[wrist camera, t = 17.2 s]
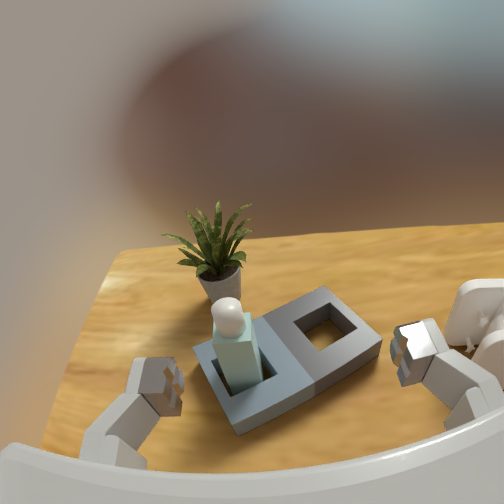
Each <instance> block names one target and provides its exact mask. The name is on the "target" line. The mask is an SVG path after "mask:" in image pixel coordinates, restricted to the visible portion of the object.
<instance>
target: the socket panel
mask: <svg viewBox="0 0 504 504" xmlns="http://www.w3.org/2000/svg"><path fill="white" fill-rule="evenodd" d="M328 319H330V320H331V321H332V322H333V323H334V324H335V325H336V326H337V327H338V328H339V329H340V330H341V331H342V332H343V333H344V334H345V335H346V336H345V337H343V338H341V339H340V340H338V341H336V342H335V343H333V344H331V345H330V346H328V347H326V348H324V349H323V350H321V351H318V350H317V348H316V347H315V346H314V345H313V344H312V343H311V342H310V341H309V339H308V338H307V337H306V336H305V335H304V334H303V333H304V332H306V331H308V330H310V329H312V328H314V327H315V326H317V325H319V324H321V323H323V322H325V321H326V320H328ZM252 322H253V326H254V330H255V335H256V339H257V344H258V348H259V352H260V357H261V361H262V363H263V364H264V365H265V367H266V368H267V370H268V371H269V373H270V374H271V376H272V377H271V378H269V379H267V380H265V381H263V382H261V383H259V384H257V385H255V386H253V387H251V388H249V389H247V390H245V391H243V392H241V393H239V394H237V395H234V396H232V397H230V396H229V394H228V392H227V390H226V388H225V387H224V385H223V383H222V381H221V379H220V377H219V374H222V373H223V371H222V369H221V366H220V364H219V361H218V359H217V356H216V354H215V351H214V349H213V346H212V339H210V340H208V341H206V342H203V343H201V344H199V345H196V346H194V347H192V348H193V350H194V352H195V354H196V356H197V358H198V361H199V363H200V365H201V367H202V369H203V371H204V373H205V375H206V377H207V379H208V381H209V383H210V385H211V387H212V389H213V391H214V393H215V395H216V397H217V399H218V401H219V403H220V404H221V406H222V408H223V410H224V412H225V414H226V416H227V418H228V419H229V421H230V423H231V425H232V427H233V429H234V430H235V432H236V434H237V436H239V435H242V434H244V433H246V432H248V431H250V430H252V429H254V428H256V427H258V426H260V425H262V424H264V423H266V422H268V421H270V420H272V419H274V418H276V417H278V416H280V415H282V414H284V413H285V412H287V411H289V410H291V409H293V408H295V407H296V406H298V405H300V404H302V403H304V402H305V401H307V400H309V399H311V398H312V397H314V396H316V395H317V394H319V393H321V392H322V391H324V390H326V389H327V388H329V387H331V386H332V385H334V384H336V383H337V382H339V381H340V380H342V379H343V378H345V377H347V376H348V375H350V374H351V373H353V372H354V371H356V370H357V369H359V368H360V367H362V366H363V365H365V364H366V363H368V362H369V361H371V360H372V359H373V358H375V357H376V356H378V355H379V352H380V348H381V344H382V340H383V339H382V338H381V337H380V336H379V335H378V334H377V333H376V332H375V331H374V330H373V329H372V328H370V327H369V326H368V325H367V324H366V323H365V322H364V321H363V320H362V319H361V318H359V317H358V316H357V315H356V314H355V313H354V312H353V311H352V310H351V309H350V308H348V307H347V306H346V305H345V304H344V303H343V302H342V301H341V300H340V299H338V298H337V297H336V296H335V295H334V294H333V293H332V292H331V291H329V290H328V289H327V288H326V287H325V286H324V285H323V286H321V287H319V288H317V289H315V290H314V291H312V292H310V293H308V294H306V295H304V296H302V297H300V298H298V299H296V300H294V301H292V302H289V303H287V304H285V305H283V306H281V307H279V308H277V309H275V310H273V311H271V312H269V313H267V314H265V315H263V316H260V317H258V318H256V319H254V320H252Z"/></svg>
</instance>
